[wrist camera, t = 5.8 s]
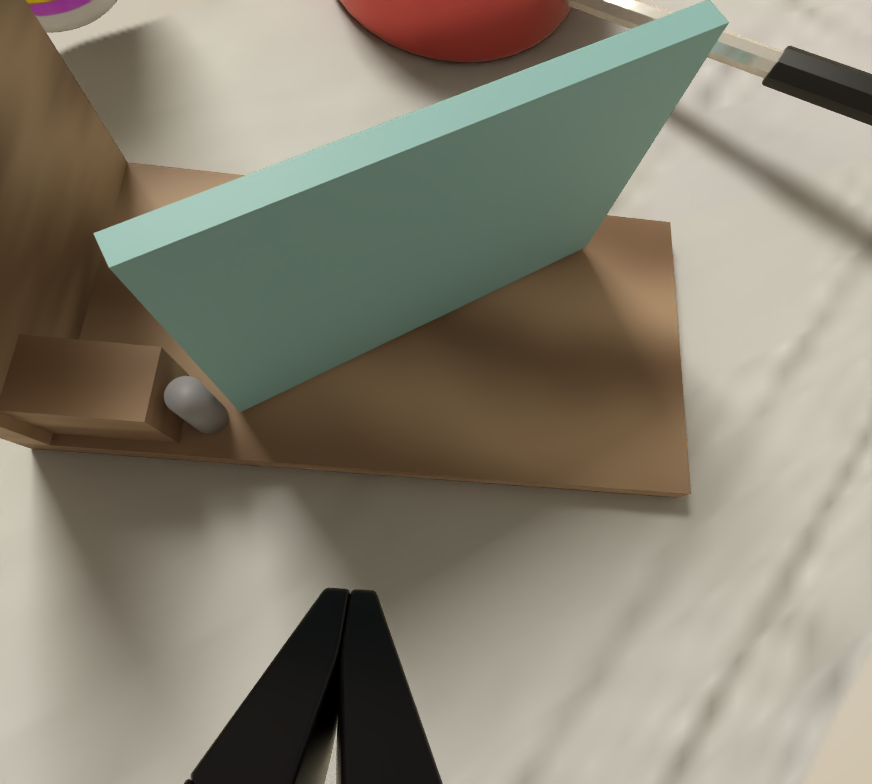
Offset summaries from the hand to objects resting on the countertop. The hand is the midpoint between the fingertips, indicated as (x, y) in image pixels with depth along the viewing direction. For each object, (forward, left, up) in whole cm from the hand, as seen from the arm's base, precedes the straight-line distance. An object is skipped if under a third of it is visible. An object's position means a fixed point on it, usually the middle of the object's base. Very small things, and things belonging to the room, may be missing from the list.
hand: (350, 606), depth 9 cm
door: (+10, 0, -10) cm, 14 cm away
